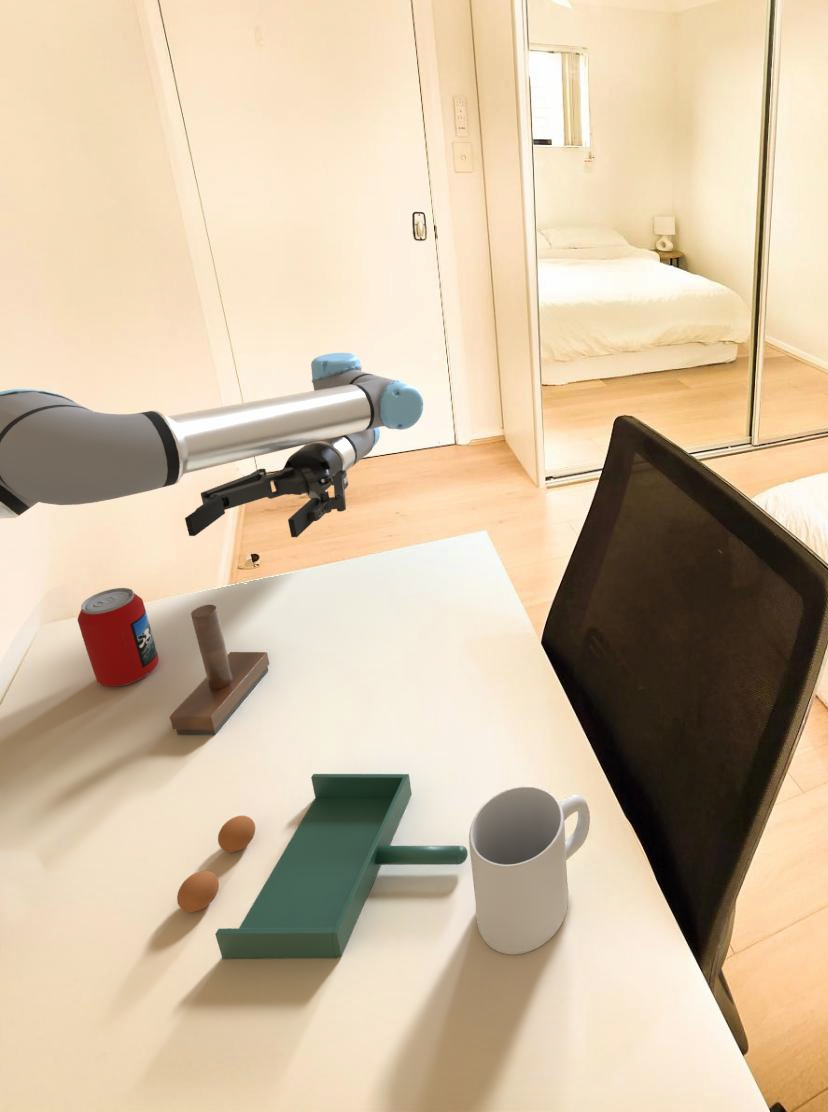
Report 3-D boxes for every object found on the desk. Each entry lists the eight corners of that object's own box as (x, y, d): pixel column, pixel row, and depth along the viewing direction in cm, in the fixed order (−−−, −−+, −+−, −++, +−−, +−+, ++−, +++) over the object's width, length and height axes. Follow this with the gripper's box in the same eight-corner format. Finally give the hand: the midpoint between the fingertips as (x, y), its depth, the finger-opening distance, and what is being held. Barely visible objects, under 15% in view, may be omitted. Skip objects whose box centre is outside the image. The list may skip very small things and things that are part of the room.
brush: (174, 736, 84) (147, 641, 80) (234, 669, 96) (214, 583, 91) (216, 736, 85) (191, 641, 80) (271, 669, 96) (252, 583, 91)
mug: (507, 978, 60) (499, 888, 57) (460, 907, 66) (450, 822, 62) (614, 885, 69) (613, 801, 65) (564, 829, 74) (561, 750, 70)
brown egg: (173, 920, 64) (165, 896, 63) (195, 886, 67) (188, 862, 66) (208, 920, 64) (200, 895, 63) (229, 886, 67) (222, 862, 66)
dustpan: (222, 959, 61) (214, 934, 60) (317, 795, 77) (313, 773, 76) (441, 957, 62) (437, 932, 61) (490, 795, 78) (488, 773, 77)
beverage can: (169, 669, 95) (149, 595, 91) (109, 698, 90) (85, 621, 86) (147, 651, 99) (127, 579, 95) (89, 678, 93) (65, 603, 89)
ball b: (214, 859, 70) (207, 836, 69) (233, 831, 73) (227, 808, 72) (246, 859, 70) (240, 836, 69) (264, 830, 73) (258, 808, 72)
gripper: (399, 485, 114) (339, 553, 94) (247, 483, 113) (153, 551, 93) (394, 443, 112) (330, 504, 92) (238, 441, 111) (139, 501, 91)
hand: (241, 528), depth 92 cm, fingers open, 13 cm apart
